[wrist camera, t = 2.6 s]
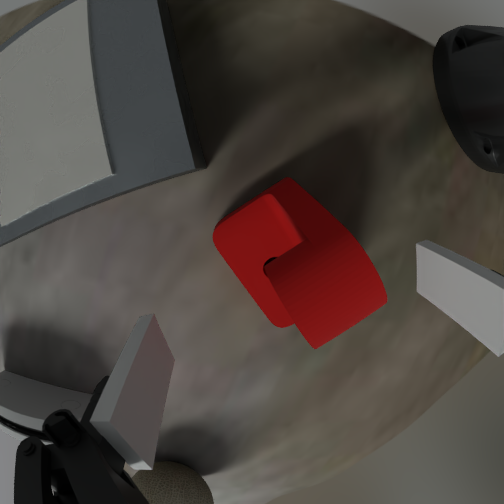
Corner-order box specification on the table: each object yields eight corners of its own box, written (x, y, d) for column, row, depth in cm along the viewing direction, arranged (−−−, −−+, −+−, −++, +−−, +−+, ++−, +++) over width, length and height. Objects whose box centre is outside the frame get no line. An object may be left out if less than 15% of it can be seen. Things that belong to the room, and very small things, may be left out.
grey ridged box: (167, 4, 14) (142, -55, 7) (206, 168, 19) (188, 168, 11) (-11, 103, 15) (-68, 98, 7) (12, 241, 19) (-47, 270, 11)
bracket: (208, 226, 20) (187, 281, 10) (284, 176, 19) (334, 186, 10) (274, 317, 22) (300, 411, 13) (342, 275, 22) (407, 346, 12)
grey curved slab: (18, 398, 24) (-26, 424, 14) (10, 366, 24) (-38, 387, 14) (121, 426, 25) (88, 475, 15) (115, 391, 26) (74, 435, 16)
